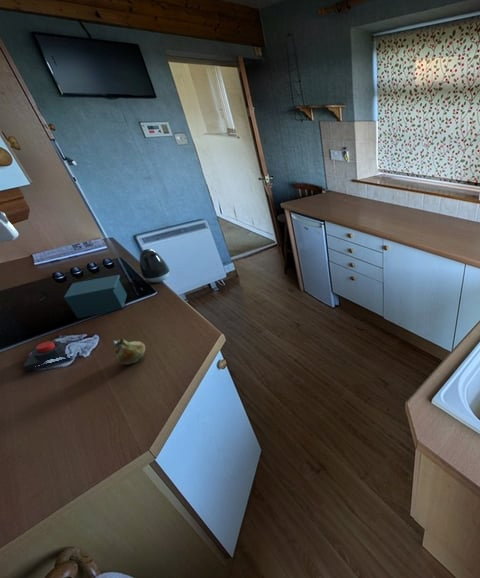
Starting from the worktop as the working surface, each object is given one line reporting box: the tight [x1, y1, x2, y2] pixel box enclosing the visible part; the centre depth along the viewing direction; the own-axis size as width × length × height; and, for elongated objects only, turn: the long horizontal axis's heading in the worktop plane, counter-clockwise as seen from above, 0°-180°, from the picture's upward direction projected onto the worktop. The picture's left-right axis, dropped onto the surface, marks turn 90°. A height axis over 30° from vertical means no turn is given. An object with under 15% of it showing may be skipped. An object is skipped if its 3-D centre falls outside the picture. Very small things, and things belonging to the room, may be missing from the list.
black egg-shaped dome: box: [139, 248, 170, 283], centre depth 132 cm, size 10×10×15 cm
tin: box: [64, 279, 128, 320], centre depth 115 cm, size 14×12×9 cm
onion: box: [112, 338, 146, 366], centre depth 90 cm, size 8×8×8 cm
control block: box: [22, 339, 75, 372], centre depth 92 cm, size 10×8×4 cm
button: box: [35, 340, 56, 353], centre depth 90 cm, size 4×4×2 cm
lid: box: [63, 274, 121, 300], centre depth 112 cm, size 14×12×1 cm
